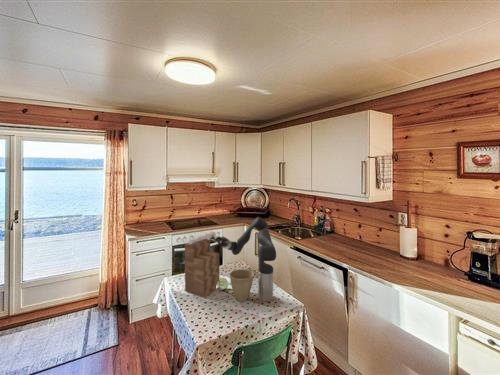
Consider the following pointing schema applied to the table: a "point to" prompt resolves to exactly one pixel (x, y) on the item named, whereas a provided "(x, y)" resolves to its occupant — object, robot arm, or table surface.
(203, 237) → the aluminium bar
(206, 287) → the walnut stand
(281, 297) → the table surface
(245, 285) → the plant pot
